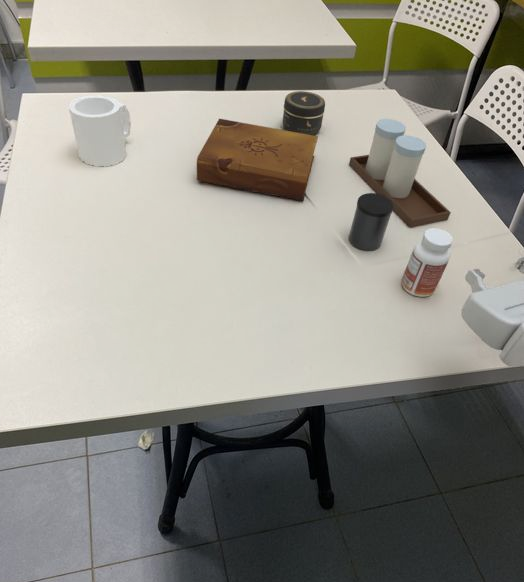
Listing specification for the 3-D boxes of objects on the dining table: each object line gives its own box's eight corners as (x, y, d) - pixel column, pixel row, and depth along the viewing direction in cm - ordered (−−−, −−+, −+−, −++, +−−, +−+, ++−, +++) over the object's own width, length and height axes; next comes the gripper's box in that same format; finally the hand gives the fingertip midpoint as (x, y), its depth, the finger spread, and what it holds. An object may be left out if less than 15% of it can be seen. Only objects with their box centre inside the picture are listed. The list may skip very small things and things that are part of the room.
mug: (111, 133, 116) (104, 85, 108) (145, 147, 113) (140, 99, 105) (69, 156, 108) (57, 106, 100) (104, 171, 105) (96, 122, 97)
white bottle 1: (382, 164, 115) (395, 117, 107) (396, 178, 112) (411, 130, 103) (359, 168, 113) (371, 120, 105) (373, 182, 110) (386, 134, 102)
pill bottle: (439, 284, 90) (462, 234, 82) (427, 303, 87) (451, 253, 78) (407, 270, 92) (427, 220, 83) (395, 288, 88) (414, 238, 80)
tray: (348, 167, 115) (350, 157, 113) (383, 161, 118) (385, 151, 116) (408, 230, 100) (412, 220, 98) (446, 222, 103) (451, 212, 101)
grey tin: (369, 230, 99) (381, 190, 92) (387, 250, 95) (400, 210, 89) (341, 236, 97) (351, 196, 90) (358, 256, 93) (369, 216, 86)
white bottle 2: (399, 181, 111) (415, 133, 103) (415, 196, 108) (432, 148, 99) (376, 185, 109) (390, 137, 101) (391, 200, 106) (407, 152, 97)
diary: (196, 183, 105) (196, 158, 101) (218, 142, 117) (219, 118, 113) (302, 203, 103) (306, 178, 99) (313, 159, 116) (318, 135, 111)
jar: (288, 141, 120) (292, 109, 114) (276, 122, 126) (279, 91, 120) (326, 138, 123) (332, 107, 117) (312, 120, 129) (317, 89, 123)
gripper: (637, 299, 64) (560, 236, 72) (519, 336, 58) (448, 262, 66) (607, 331, 69) (538, 269, 77) (495, 369, 63) (432, 297, 70)
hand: (496, 266), depth 71 cm, fingers open, 8 cm apart
